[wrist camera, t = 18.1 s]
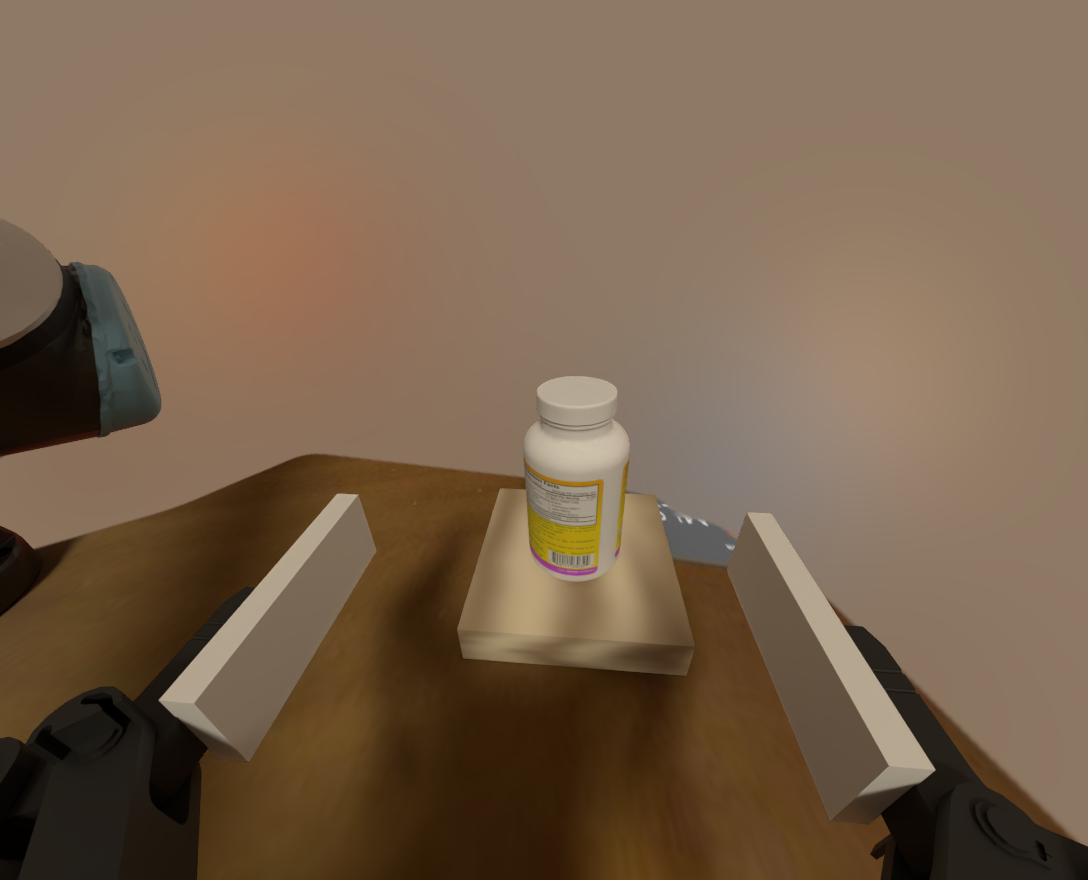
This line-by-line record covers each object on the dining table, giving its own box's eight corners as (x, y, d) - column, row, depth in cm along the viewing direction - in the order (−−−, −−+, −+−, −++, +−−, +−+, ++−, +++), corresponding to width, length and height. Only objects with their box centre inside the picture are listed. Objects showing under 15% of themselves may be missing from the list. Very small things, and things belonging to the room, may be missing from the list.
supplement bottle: (580, 508, 32) (586, 362, 26) (638, 557, 28) (662, 393, 21) (512, 542, 29) (499, 385, 23) (564, 604, 24) (566, 427, 18)
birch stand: (463, 658, 25) (457, 629, 23) (502, 513, 37) (500, 488, 35) (686, 675, 23) (695, 646, 22) (650, 520, 35) (655, 494, 34)
